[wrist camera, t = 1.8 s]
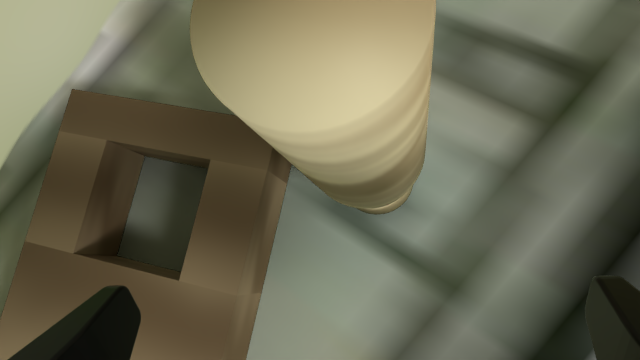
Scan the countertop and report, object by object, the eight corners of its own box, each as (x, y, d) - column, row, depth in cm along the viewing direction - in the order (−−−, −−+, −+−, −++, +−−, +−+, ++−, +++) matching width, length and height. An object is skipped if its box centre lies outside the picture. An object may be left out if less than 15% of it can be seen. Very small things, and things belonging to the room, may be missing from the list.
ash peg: (413, 232, 20) (408, 150, 7) (324, 213, 21) (162, 109, 8) (430, 142, 21) (457, -96, 7) (342, 128, 22) (223, -106, 8)
